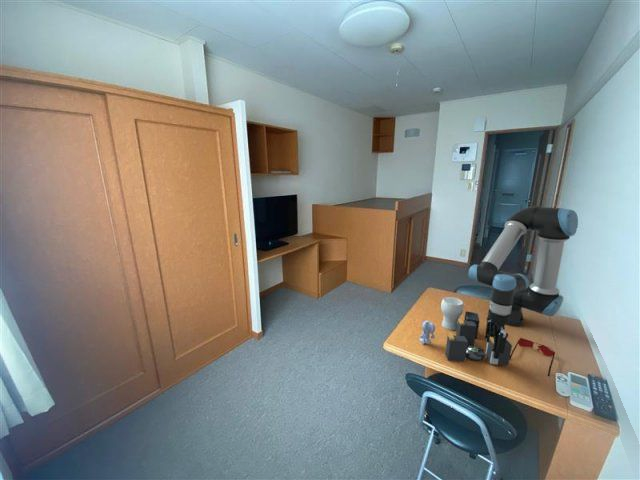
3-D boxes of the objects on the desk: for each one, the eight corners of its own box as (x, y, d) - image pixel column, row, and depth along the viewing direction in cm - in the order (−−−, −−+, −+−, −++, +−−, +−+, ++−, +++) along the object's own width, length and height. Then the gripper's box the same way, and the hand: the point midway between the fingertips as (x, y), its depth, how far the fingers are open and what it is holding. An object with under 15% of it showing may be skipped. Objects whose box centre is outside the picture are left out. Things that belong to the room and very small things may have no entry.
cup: (456, 321, 148) (459, 296, 144) (464, 332, 138) (467, 306, 134) (436, 320, 149) (439, 296, 145) (442, 331, 139) (445, 305, 135)
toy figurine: (430, 338, 133) (432, 317, 130) (435, 346, 126) (437, 324, 124) (416, 338, 133) (418, 316, 130) (420, 346, 127) (422, 324, 124)
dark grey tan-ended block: (503, 359, 117) (507, 337, 114) (508, 366, 113) (512, 343, 111) (486, 358, 118) (489, 336, 116) (490, 364, 114) (494, 342, 112)
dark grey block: (461, 355, 120) (464, 334, 117) (464, 361, 116) (468, 339, 113) (445, 354, 121) (447, 332, 118) (447, 360, 117) (450, 338, 114)
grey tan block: (470, 339, 131) (473, 319, 129) (473, 344, 127) (477, 324, 125) (455, 338, 132) (458, 318, 130) (458, 343, 129) (461, 323, 126)
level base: (479, 348, 125) (480, 342, 124) (488, 362, 116) (489, 355, 115) (457, 346, 126) (458, 340, 125) (464, 360, 117) (465, 353, 116)
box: (463, 328, 141) (465, 310, 138) (475, 331, 139) (478, 313, 136) (464, 336, 134) (466, 318, 132) (476, 339, 132) (479, 320, 129)
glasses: (554, 358, 119) (556, 348, 117) (549, 377, 108) (551, 367, 106) (516, 344, 129) (518, 335, 127) (508, 360, 118) (510, 350, 116)
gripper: (481, 301, 119) (474, 346, 125) (499, 321, 103) (490, 372, 108) (499, 302, 118) (491, 348, 123) (521, 323, 101) (510, 375, 107)
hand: (491, 359), depth 116 cm, fingers closed on dark grey tan-ended block, 4 cm apart
